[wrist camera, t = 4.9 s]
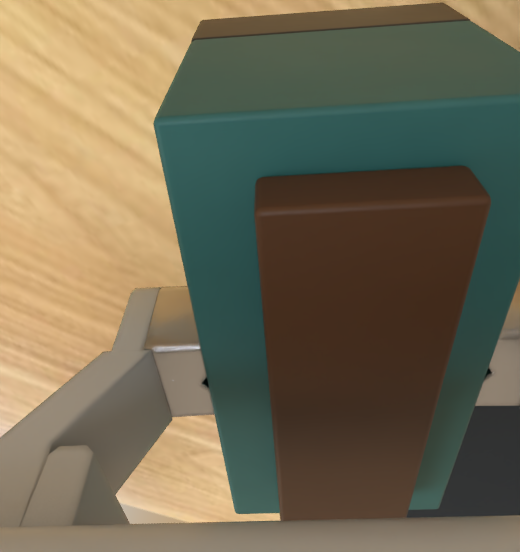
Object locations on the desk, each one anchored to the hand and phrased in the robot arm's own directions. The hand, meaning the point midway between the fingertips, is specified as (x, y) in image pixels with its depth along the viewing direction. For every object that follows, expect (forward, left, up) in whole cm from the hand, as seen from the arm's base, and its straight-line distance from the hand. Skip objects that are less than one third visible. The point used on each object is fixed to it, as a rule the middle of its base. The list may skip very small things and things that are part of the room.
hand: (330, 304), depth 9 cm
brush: (0, 0, -3) cm, 3 cm away
